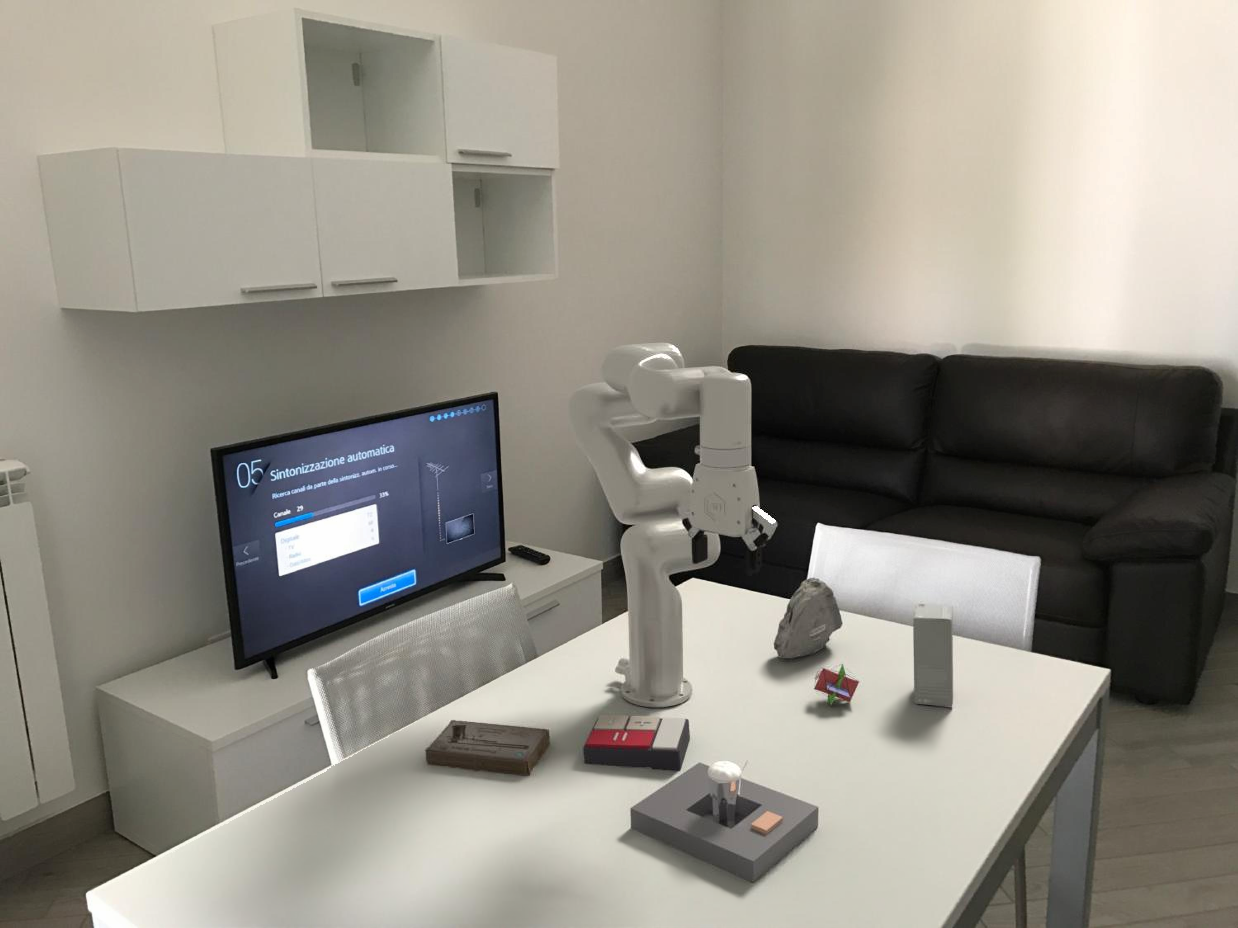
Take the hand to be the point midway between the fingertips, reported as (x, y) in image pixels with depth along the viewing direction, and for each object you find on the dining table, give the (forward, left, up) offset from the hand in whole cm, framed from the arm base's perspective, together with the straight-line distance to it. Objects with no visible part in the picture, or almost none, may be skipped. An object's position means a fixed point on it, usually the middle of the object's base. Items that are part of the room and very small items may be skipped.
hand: (726, 567), depth 155 cm
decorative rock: (-10, +42, -31) cm, 53 cm away
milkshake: (+13, -18, -30) cm, 37 cm away
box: (-29, -24, -31) cm, 49 cm away
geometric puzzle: (+5, +26, -31) cm, 40 cm away
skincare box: (+17, +38, -31) cm, 52 cm away
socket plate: (+12, -18, -30) cm, 37 cm away
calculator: (-11, -8, -31) cm, 34 cm away
